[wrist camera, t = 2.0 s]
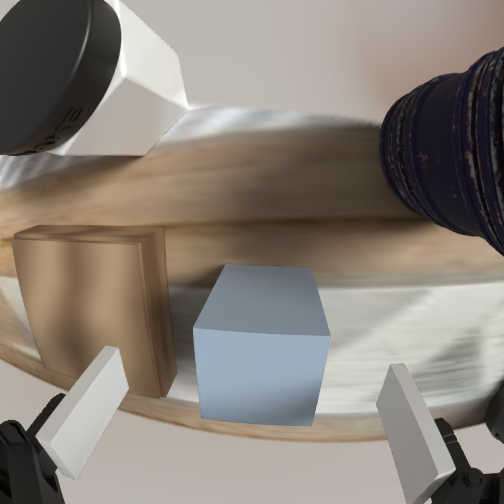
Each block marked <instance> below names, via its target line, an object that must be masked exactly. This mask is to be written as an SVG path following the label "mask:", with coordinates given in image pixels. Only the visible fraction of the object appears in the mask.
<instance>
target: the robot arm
mask: <svg viewBox="0 0 504 504" xmlns="http://www.w3.org/2000/svg"><path fill="white" fill-rule="evenodd" d="M128 389H129V386H128V383H127V379H126V376H125V372H124V368H123V364H122V360H121V356H120V352H119V348H116V347H111V346H105V347H104V348H103V349H102V351H101V352H100V353H99V354H98V356H97V357H96V358H95V359H94V360H93V362H92V363H91V364H90V365H89V367H88V368H87V369H86V370H85V372H84V373H83V374H82V375H81V377H80V378H79V379H78V380H77V382H76V383H75V384H74V386H73V387H72V388H71V389H70V391H69V392H68V393H67V394H66V395H65V394H63V393H60V394H58V395H56V396H55V397H53V398H52V399H51V400H50V401H49V403H48V404H47V405H46V407H45V408H44V409H43V410H42V413H40V414H39V416H38V417H37V418H36V419H35V421H34V422H33V423H32V424H31V426H30V427H29V429H28V430H27V431H25V430H24V428H23V427H22V425H21V424H20V423H19V422H18V421H15V420H8V421H4V422H3V423H2V424H0V504H65V502H64V499H63V495H62V492H61V489H60V485H59V481H58V478H57V475H56V473H55V471H56V469H57V468H58V469H59V470H60V471H61V473H62V474H63V475H65V476H67V477H69V478H72V479H74V480H76V481H77V480H78V478H79V476H80V474H81V473H82V471H83V469H84V467H85V465H86V464H87V462H88V460H89V458H90V456H91V454H92V453H93V451H94V449H95V447H96V445H97V444H98V442H99V440H100V438H101V436H102V435H103V433H104V431H105V429H106V428H107V426H108V424H109V422H110V420H111V418H112V417H113V415H114V413H115V412H116V410H117V408H118V407H119V405H120V403H121V401H122V400H123V398H124V396H125V394H126V393H127V391H128ZM376 406H377V409H378V411H379V414H380V417H381V420H382V423H383V426H384V429H385V432H386V436H387V439H388V442H389V445H390V448H391V451H392V454H393V458H394V461H395V464H396V468H397V471H398V474H399V478H400V481H401V485H402V488H403V492H404V496H405V499H406V503H407V504H424V503H425V502H426V501H427V500H428V499H429V498H430V497H431V500H432V503H431V504H504V468H503V469H502V470H501V471H500V472H499V473H492V474H483V473H482V472H481V471H480V470H478V469H477V468H471V467H470V465H469V463H468V461H467V459H466V456H465V455H464V452H463V450H462V449H461V446H460V444H459V442H457V438H456V436H455V435H454V432H453V430H452V428H451V426H450V425H449V424H448V423H447V422H446V421H445V420H444V419H443V418H438V419H433V418H432V416H431V414H430V412H429V410H428V408H427V406H426V404H425V402H424V400H423V398H422V396H421V394H420V392H419V390H418V388H417V386H416V384H415V382H414V381H413V379H412V377H411V375H410V373H409V371H408V369H407V368H406V366H405V364H404V363H399V364H390V367H389V370H388V372H387V375H386V378H385V381H384V384H383V387H382V390H381V392H380V395H379V398H378V400H377V403H376ZM486 425H487V427H488V429H489V431H490V432H491V434H492V435H493V437H494V438H496V439H497V440H499V441H501V442H502V443H503V444H504V384H503V386H502V387H501V389H500V390H499V392H498V393H497V395H496V396H495V398H494V400H493V402H492V403H491V405H490V408H489V410H488V413H487V416H486Z"/></svg>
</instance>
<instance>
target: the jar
mask: <svg viewBox="0 0 504 504" xmlns="http://www.w3.org/2000/svg"><path fill="white" fill-rule="evenodd" d="M188 109H189V108H188V103H187V98H186V94H185V89H184V84H183V79H182V74H181V69H180V64H179V59H178V55H177V54H176V53H175V52H174V51H173V50H172V49H171V48H170V47H169V46H168V45H167V44H166V43H165V42H164V41H163V40H162V39H161V38H160V37H159V36H158V35H157V34H156V33H155V32H153V31H152V29H150V28H149V27H148V26H147V25H146V24H145V23H144V22H143V21H142V20H141V19H140V18H139V17H138V16H137V15H135V14H134V13H133V12H132V11H131V10H130V9H129V8H128V7H127V6H125V5H124V4H123V3H122V2H121V1H120V0H20V1H19V2H18V3H17V4H16V5H14V7H12V8H11V10H10V11H9V12H8V13H7V14H6V15H5V16H4V18H3V19H2V20H1V21H0V155H9V156H20V155H29V154H36V153H41V152H47V153H51V154H55V155H59V156H97V155H117V156H144V155H146V154H147V153H148V151H149V150H150V149H151V148H152V147H153V146H154V145H155V144H156V143H157V142H158V141H159V140H160V138H161V137H162V136H163V135H164V134H165V133H166V132H167V131H168V130H169V129H170V128H171V127H172V126H173V125H174V124H175V123H176V122H177V121H178V120H179V119H180V118H181V117H182V116H183V115H184V114H185V113H186V112H187V111H188Z"/></svg>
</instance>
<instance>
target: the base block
mask: <svg viewBox="0 0 504 504" xmlns="http://www.w3.org/2000/svg"><path fill="white" fill-rule="evenodd" d="M11 241H12V248H13V254H14V260H15V265H16V271H17V276H18V280H19V285H20V289H21V294H22V298H23V302H24V306H25V309H26V313H27V317H28V320H29V324H30V327H31V330H32V333H33V337H34V340H35V343H36V346H37V349H38V351H39V354H40V357H41V360H42V362H43V365H44V367H45V368H47V369H50V370H53V371H56V372H59V373H62V374H65V375H68V376H71V377H74V378H77V379H79V378H80V377H81V375H82V374H83V373H84V372H85V370H86V369H87V368H88V367H89V365H90V364H91V363H92V362H93V360H94V359H95V358H96V357H97V356H98V354H99V353H100V352H101V351H102V349H103V348H104V347H105V346H111V347H116V348H119V352H120V356H121V360H122V364H123V368H124V372H125V376H126V379H127V383H128V386H129V389H128V391H127V392H129V393H133V394H137V395H142V396H147V397H151V398H156V399H160V397H166V396H167V394H168V391H169V389H170V387H171V385H172V383H173V381H174V379H175V376H176V374H177V368H176V360H175V353H174V345H173V336H172V327H171V317H170V307H169V296H168V283H167V269H166V253H165V232H164V227H143V226H91V225H37V226H34V227H31V228H29V229H26V230H23V231H20V232H17V233H15V234H14V239H11Z"/></svg>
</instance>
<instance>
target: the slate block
mask: <svg viewBox="0 0 504 504" xmlns="http://www.w3.org/2000/svg"><path fill="white" fill-rule="evenodd" d="M330 337H331V336H330V332H329V328H328V325H327V321H326V317H325V314H324V310H323V307H322V303H321V300H320V297H319V293H318V290H317V286H316V283H315V280H314V276H313V273H312V270H311V268H300V267H279V266H260V265H241V264H225V266H224V268H223V270H222V272H221V274H220V276H219V278H218V280H217V282H216V284H215V286H214V287H213V289H212V291H211V293H210V295H209V297H208V299H207V301H206V303H205V305H204V307H203V309H202V311H201V313H200V315H199V317H198V319H197V321H196V322H195V324H194V326H193V338H194V350H195V362H196V372H197V383H198V392H199V401H200V410H201V418H203V419H211V420H219V421H228V422H237V423H249V424H264V425H287V426H312V423H313V419H314V414H315V410H316V406H317V402H318V397H319V393H320V388H321V383H322V379H323V374H324V369H325V364H326V359H327V353H328V348H329V342H330Z"/></svg>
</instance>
